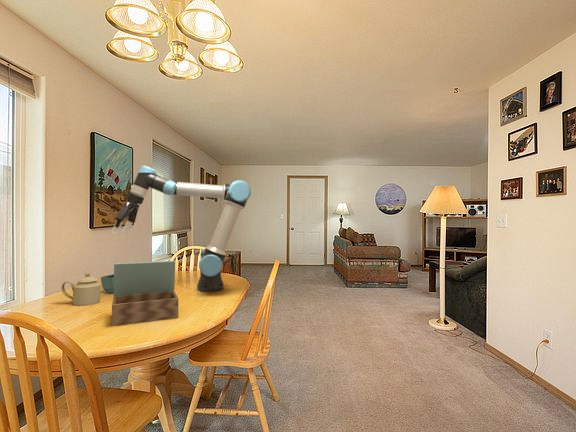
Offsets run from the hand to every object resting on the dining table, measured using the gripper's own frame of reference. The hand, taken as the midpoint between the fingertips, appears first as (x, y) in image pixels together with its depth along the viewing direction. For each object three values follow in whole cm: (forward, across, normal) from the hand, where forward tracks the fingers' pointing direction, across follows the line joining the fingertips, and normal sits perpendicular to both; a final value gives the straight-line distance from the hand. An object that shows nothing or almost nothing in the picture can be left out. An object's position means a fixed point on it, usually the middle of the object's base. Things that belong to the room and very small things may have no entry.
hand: (119, 233), depth 156 cm
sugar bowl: (+36, +7, 0) cm, 37 cm away
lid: (+10, +25, +26) cm, 37 cm away
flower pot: (+33, -14, +5) cm, 36 cm away
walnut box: (+24, +30, +33) cm, 50 cm away
